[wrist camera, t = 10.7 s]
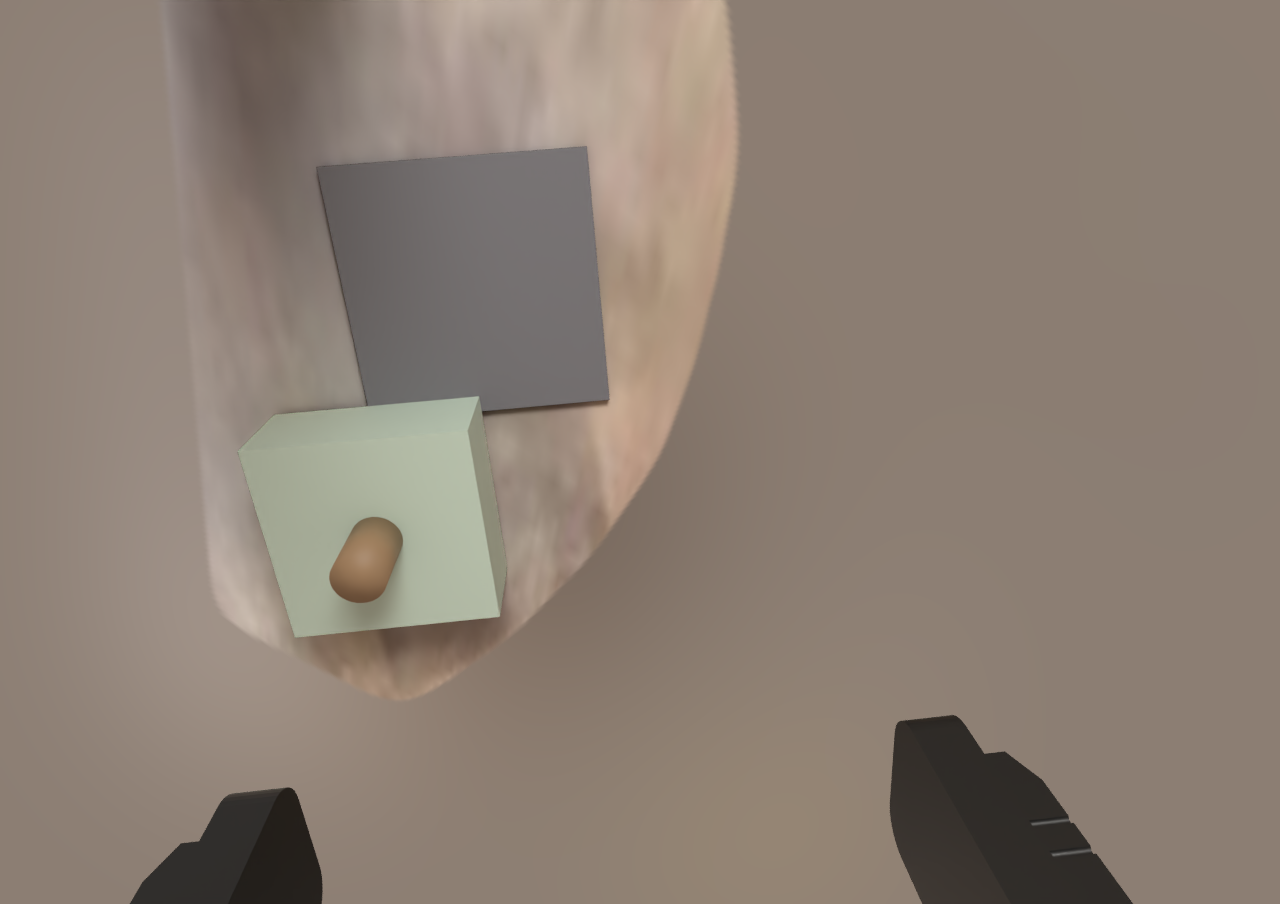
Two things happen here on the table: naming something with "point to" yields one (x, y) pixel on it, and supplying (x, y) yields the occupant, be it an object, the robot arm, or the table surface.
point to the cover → (379, 515)
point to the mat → (471, 277)
